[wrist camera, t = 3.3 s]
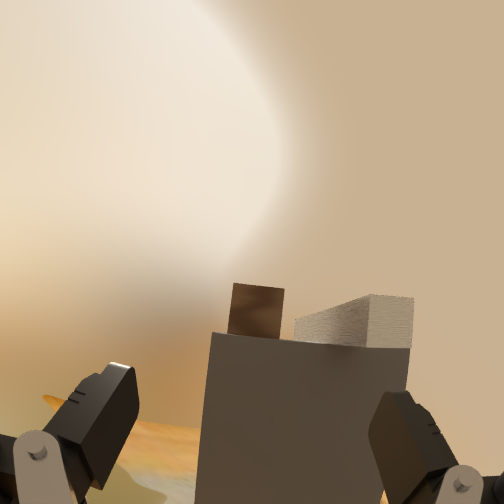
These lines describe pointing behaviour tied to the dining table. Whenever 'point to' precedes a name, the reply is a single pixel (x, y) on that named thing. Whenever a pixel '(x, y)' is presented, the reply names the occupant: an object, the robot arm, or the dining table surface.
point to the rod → (361, 323)
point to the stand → (292, 421)
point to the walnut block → (256, 311)
